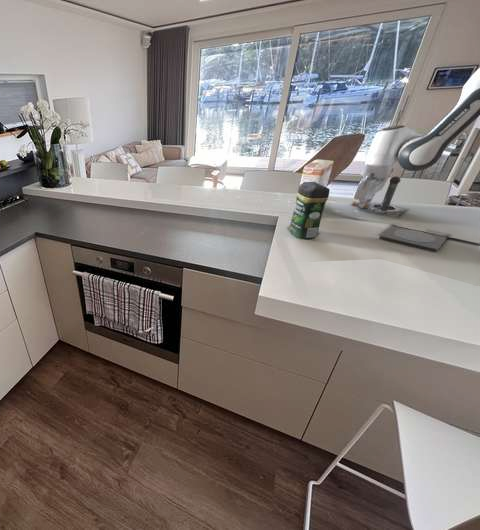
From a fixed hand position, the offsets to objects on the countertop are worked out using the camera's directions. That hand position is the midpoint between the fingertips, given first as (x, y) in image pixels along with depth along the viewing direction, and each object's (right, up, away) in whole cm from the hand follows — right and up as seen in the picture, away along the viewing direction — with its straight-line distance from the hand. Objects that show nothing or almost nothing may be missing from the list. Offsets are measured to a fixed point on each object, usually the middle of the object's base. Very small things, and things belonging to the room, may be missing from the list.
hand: (364, 205), depth 119 cm
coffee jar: (-35, -14, -14) cm, 40 cm away
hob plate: (-4, -16, -23) cm, 29 cm away
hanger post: (+4, -4, -4) cm, 7 cm away
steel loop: (+2, -2, -2) cm, 4 cm away
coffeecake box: (-20, -1, +5) cm, 21 cm away
